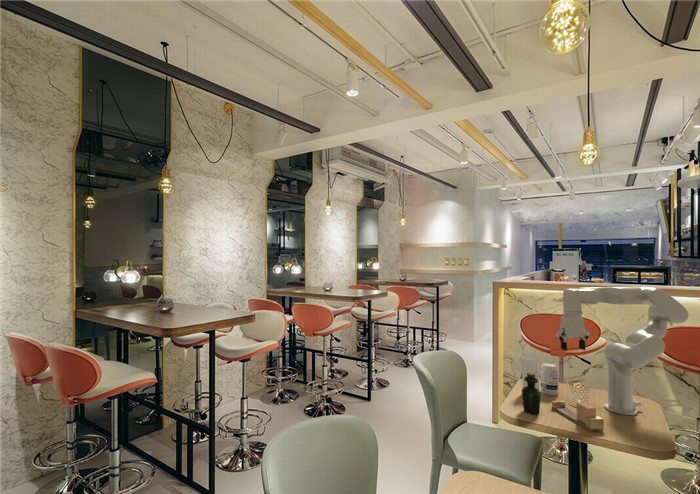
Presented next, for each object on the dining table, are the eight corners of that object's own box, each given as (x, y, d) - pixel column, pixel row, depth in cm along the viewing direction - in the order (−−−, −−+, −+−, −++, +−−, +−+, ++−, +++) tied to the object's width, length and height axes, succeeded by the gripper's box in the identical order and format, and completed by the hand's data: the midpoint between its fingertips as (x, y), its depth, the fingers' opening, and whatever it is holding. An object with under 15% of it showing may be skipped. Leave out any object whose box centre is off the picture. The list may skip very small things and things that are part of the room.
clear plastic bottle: (533, 397, 184) (533, 354, 185) (522, 393, 189) (521, 352, 190) (539, 394, 188) (538, 352, 189) (527, 390, 193) (527, 350, 194)
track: (563, 408, 170) (563, 400, 170) (603, 431, 148) (603, 422, 148) (552, 408, 170) (551, 401, 170) (590, 431, 147) (590, 423, 147)
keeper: (585, 418, 156) (584, 402, 156) (596, 424, 150) (595, 408, 150) (576, 418, 155) (576, 402, 156) (587, 425, 149) (587, 408, 150)
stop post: (599, 425, 150) (598, 416, 150) (603, 428, 147) (603, 418, 147) (586, 426, 149) (586, 416, 149) (590, 429, 146) (590, 419, 147)
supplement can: (544, 389, 196) (544, 361, 196) (560, 393, 189) (560, 365, 190) (538, 392, 191) (537, 364, 191) (554, 397, 184) (554, 368, 185)
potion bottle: (518, 410, 168) (517, 371, 169) (530, 407, 171) (529, 369, 172) (532, 417, 161) (532, 377, 161) (545, 414, 164) (544, 374, 165)
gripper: (582, 312, 177) (583, 347, 176) (550, 313, 174) (551, 348, 174) (594, 315, 169) (595, 351, 168) (561, 315, 167) (562, 352, 166)
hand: (573, 349), depth 171 cm, fingers open, 9 cm apart
